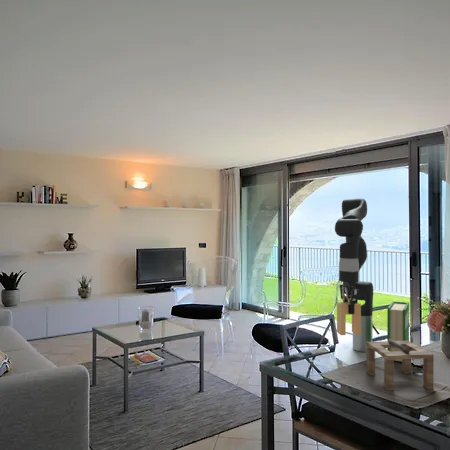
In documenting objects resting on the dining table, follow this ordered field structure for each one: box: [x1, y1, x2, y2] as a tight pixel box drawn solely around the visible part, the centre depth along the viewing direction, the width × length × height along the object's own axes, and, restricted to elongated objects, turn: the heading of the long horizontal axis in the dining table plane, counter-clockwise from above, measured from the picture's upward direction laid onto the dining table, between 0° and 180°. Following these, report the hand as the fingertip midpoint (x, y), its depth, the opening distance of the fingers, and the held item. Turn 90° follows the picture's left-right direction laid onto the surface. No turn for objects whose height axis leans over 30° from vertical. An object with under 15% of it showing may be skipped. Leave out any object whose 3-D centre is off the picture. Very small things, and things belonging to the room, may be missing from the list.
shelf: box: [365, 339, 434, 392], centre depth 165 cm, size 18×18×15 cm
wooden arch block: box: [336, 301, 362, 336], centre depth 166 cm, size 4×8×12 cm, turn 95°
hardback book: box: [386, 300, 410, 363], centre depth 193 cm, size 18×7×24 cm, turn 151°
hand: (348, 312), depth 166 cm, fingers closed on wooden arch block, 4 cm apart
